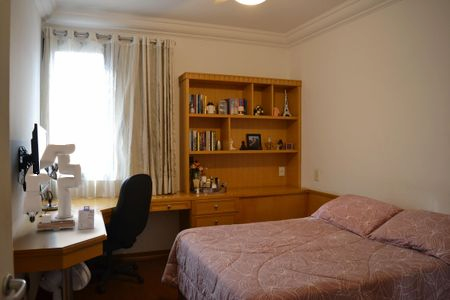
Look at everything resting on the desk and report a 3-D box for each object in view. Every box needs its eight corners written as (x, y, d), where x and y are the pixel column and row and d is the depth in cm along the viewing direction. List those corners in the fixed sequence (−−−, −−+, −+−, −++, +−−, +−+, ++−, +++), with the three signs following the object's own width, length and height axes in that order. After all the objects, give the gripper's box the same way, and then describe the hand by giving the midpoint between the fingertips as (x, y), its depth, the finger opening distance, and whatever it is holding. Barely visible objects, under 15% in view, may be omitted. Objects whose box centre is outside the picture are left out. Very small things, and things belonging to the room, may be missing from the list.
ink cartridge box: (94, 226, 233) (94, 205, 233) (93, 228, 228) (94, 207, 228) (78, 227, 230) (79, 206, 230) (77, 229, 225) (78, 207, 225)
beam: (37, 229, 222) (37, 221, 222) (74, 226, 232) (74, 219, 232) (37, 232, 214) (37, 224, 214) (75, 229, 224) (75, 222, 224)
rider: (42, 223, 221) (42, 214, 221) (50, 222, 223) (50, 213, 223) (41, 224, 217) (42, 215, 217) (50, 224, 219) (50, 215, 219)
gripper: (46, 192, 223) (45, 220, 223) (19, 193, 216) (19, 222, 216) (46, 194, 216) (45, 222, 216) (18, 195, 209) (17, 224, 210)
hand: (32, 222), depth 216 cm, fingers closed
